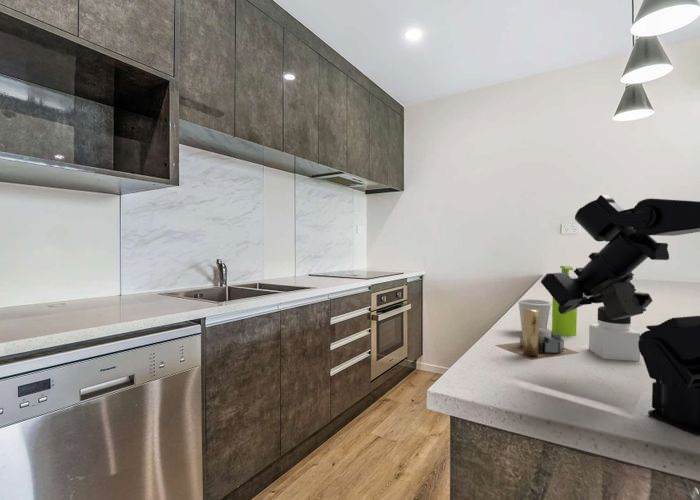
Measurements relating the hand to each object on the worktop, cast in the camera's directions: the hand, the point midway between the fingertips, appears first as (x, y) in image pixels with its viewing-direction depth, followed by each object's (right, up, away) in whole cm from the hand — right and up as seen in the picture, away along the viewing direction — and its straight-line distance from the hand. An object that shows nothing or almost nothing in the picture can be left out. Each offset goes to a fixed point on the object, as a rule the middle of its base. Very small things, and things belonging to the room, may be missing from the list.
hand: (560, 312), depth 72 cm
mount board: (+1, -12, +12) cm, 17 cm away
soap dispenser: (+17, -12, +26) cm, 33 cm away
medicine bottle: (+17, -12, +8) cm, 22 cm away
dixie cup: (+8, -12, +26) cm, 30 cm away
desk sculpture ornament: (+1, -11, +11) cm, 15 cm away
